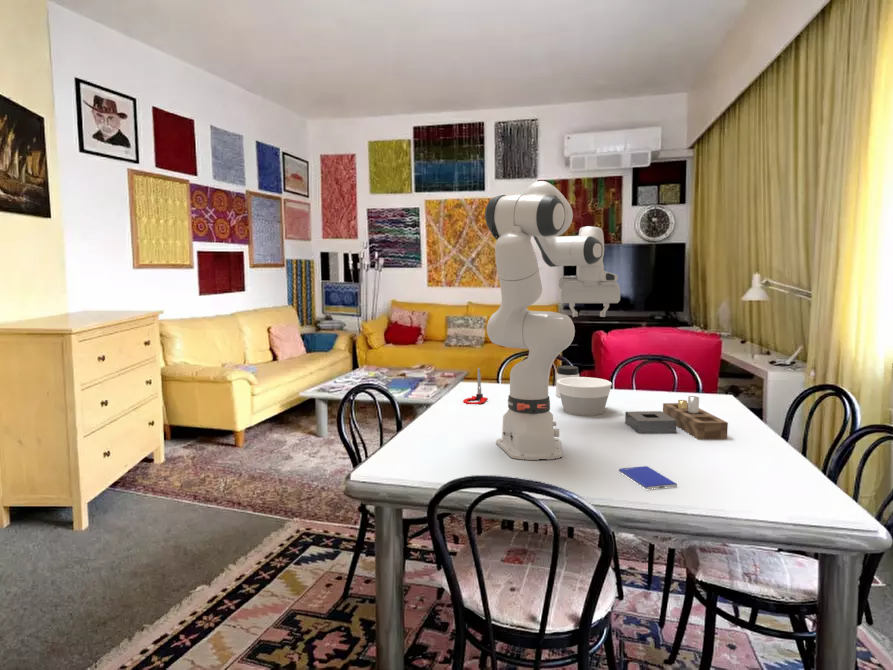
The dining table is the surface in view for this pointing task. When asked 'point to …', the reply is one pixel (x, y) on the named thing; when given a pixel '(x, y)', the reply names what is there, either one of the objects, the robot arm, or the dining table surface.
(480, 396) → the tow hook
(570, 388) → the bowl
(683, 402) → the cylinder
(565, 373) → the jar
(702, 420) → the rack
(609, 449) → the dining table surface
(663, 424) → the socket block
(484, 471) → the dining table surface
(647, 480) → the hard drive
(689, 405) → the steel peg
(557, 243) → the robot arm
